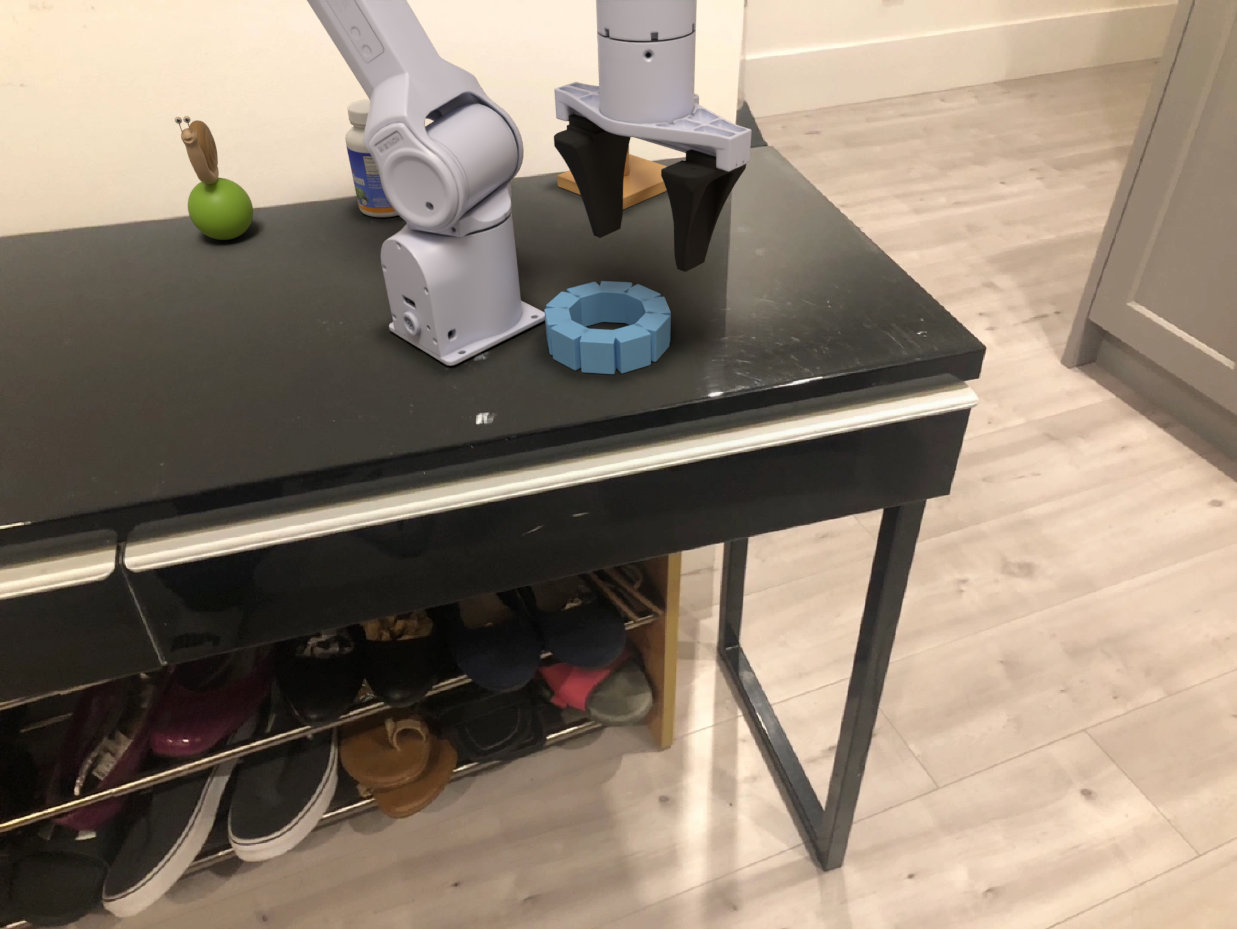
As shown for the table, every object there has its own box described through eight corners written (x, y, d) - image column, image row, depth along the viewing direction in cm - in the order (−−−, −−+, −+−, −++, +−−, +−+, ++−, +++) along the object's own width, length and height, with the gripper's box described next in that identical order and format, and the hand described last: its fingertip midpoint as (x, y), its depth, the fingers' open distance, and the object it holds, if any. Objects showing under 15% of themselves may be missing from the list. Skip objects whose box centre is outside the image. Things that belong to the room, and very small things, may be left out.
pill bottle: (357, 200, 90) (335, 99, 84) (412, 193, 91) (395, 92, 85) (362, 222, 86) (340, 117, 80) (419, 214, 87) (402, 110, 81)
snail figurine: (192, 257, 81) (145, 120, 74) (203, 228, 86) (160, 96, 79) (256, 250, 82) (215, 114, 74) (262, 221, 87) (225, 91, 79)
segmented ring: (608, 389, 63) (607, 357, 62) (522, 342, 68) (518, 311, 67) (694, 339, 68) (695, 308, 67) (607, 299, 73) (606, 269, 72)
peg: (621, 210, 87) (619, 134, 82) (557, 186, 92) (552, 113, 87) (684, 183, 92) (685, 110, 87) (620, 161, 97) (618, 91, 92)
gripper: (790, 35, 51) (771, 259, 59) (605, -1, 59) (612, 201, 67) (709, 63, 47) (701, 299, 56) (523, 20, 55) (541, 232, 64)
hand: (647, 248), depth 61 cm, fingers open, 7 cm apart
